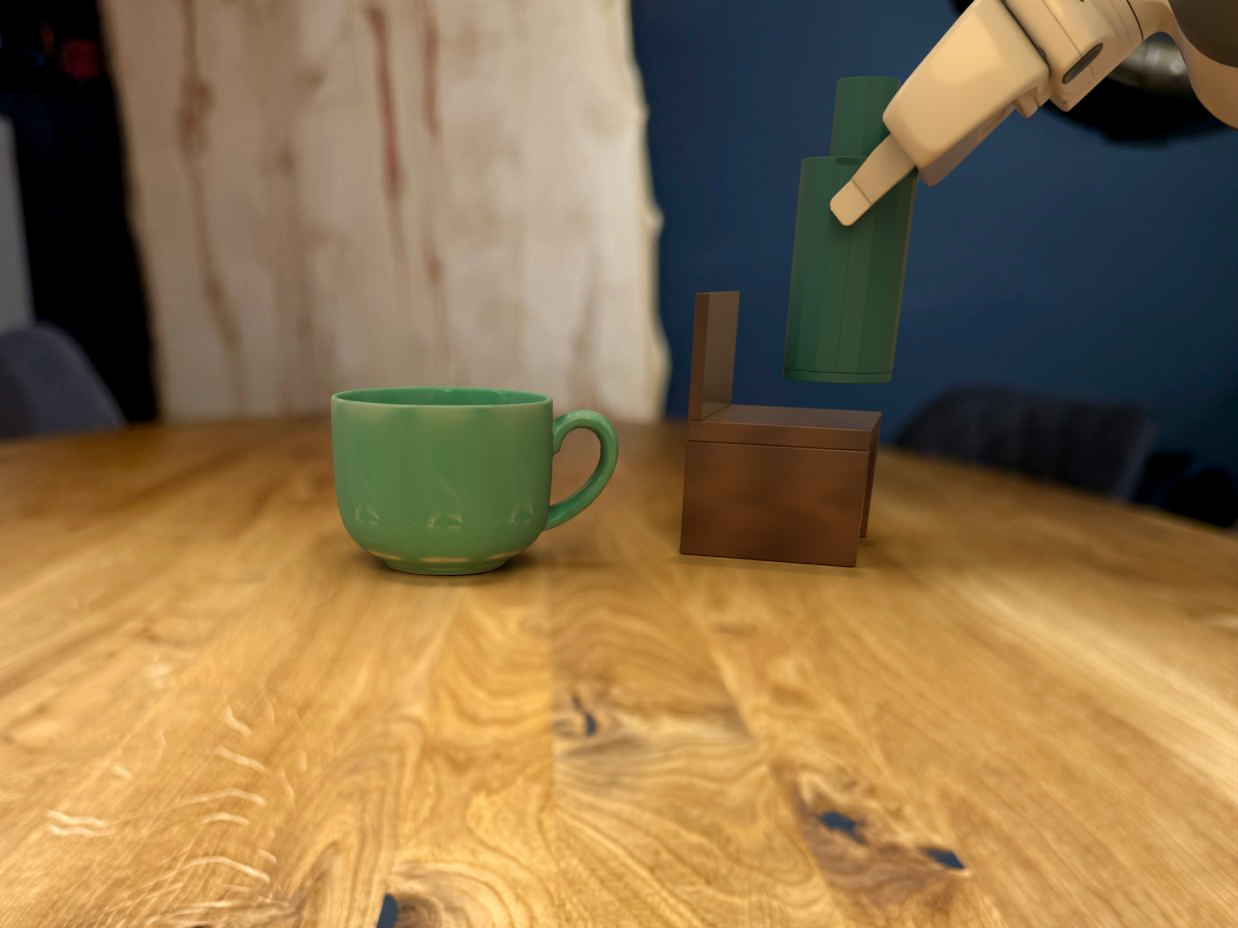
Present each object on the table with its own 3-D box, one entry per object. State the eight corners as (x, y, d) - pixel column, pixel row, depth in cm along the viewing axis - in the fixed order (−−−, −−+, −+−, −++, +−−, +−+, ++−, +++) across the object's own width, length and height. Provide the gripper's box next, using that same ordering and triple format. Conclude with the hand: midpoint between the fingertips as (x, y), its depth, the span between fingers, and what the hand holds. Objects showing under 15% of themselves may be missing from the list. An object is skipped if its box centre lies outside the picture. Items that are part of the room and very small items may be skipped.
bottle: (899, 378, 84) (937, 84, 77) (878, 385, 78) (917, 70, 71) (797, 372, 86) (825, 87, 79) (770, 379, 81) (797, 73, 73)
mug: (322, 583, 73) (312, 401, 69) (353, 540, 84) (346, 382, 80) (618, 590, 73) (627, 409, 69) (610, 547, 84) (616, 389, 80)
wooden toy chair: (866, 533, 91) (897, 295, 84) (854, 567, 80) (887, 298, 74) (710, 522, 93) (727, 290, 87) (679, 553, 83) (696, 292, 76)
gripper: (1006, 5, 80) (826, 185, 87) (1015, -69, 62) (789, 164, 69) (1068, 90, 81) (885, 262, 88) (1094, 41, 63) (864, 260, 70)
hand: (843, 219), depth 78 cm, fingers closed on bottle, 7 cm apart
